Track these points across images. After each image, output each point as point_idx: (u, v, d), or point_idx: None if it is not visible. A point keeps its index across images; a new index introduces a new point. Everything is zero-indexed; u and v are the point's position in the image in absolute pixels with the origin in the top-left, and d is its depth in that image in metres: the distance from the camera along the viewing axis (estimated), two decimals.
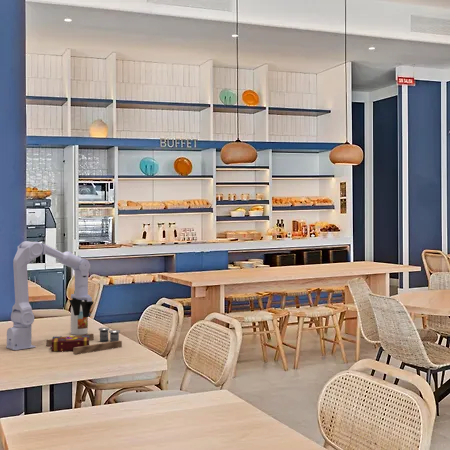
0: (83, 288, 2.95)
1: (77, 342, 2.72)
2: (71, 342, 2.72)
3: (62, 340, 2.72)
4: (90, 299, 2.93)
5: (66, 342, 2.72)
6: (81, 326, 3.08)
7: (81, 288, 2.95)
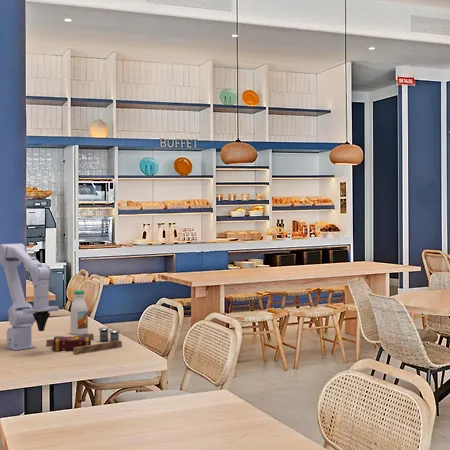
0: None
1: (79, 342, 2.73)
2: (73, 342, 2.73)
3: (64, 340, 2.73)
4: (24, 312, 2.63)
5: (68, 342, 2.72)
6: (81, 326, 3.08)
7: None
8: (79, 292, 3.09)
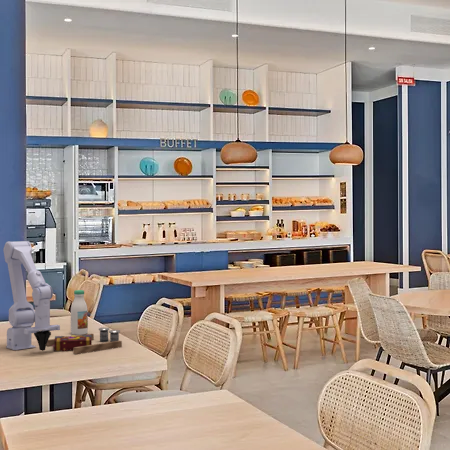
0: (35, 318, 2.67)
1: (80, 341, 2.73)
2: (74, 341, 2.73)
3: (65, 340, 2.73)
4: (25, 331, 2.64)
5: (69, 342, 2.73)
6: (81, 326, 3.08)
7: (35, 318, 2.68)
8: (79, 292, 3.09)
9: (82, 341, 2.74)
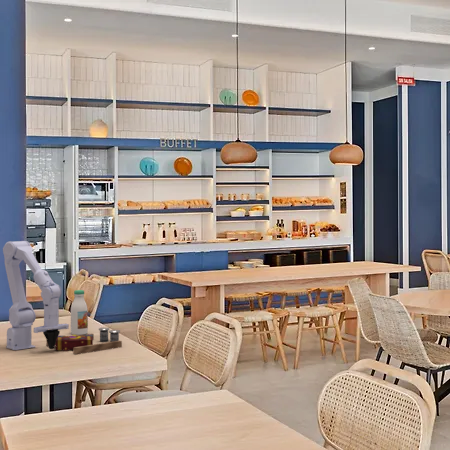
0: (44, 317, 2.70)
1: (81, 341, 2.74)
2: (75, 341, 2.74)
3: (66, 339, 2.74)
4: (35, 330, 2.66)
5: (70, 341, 2.73)
6: (81, 326, 3.08)
7: (44, 317, 2.71)
8: (79, 292, 3.09)
9: (83, 340, 2.74)
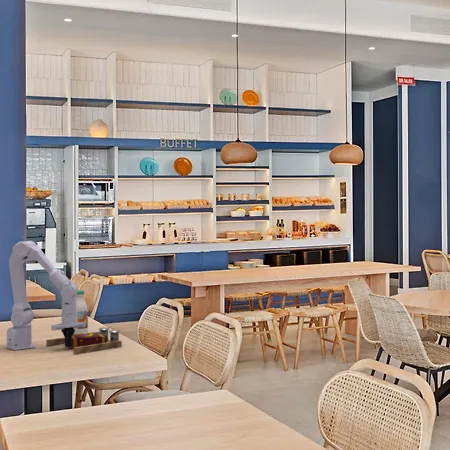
0: None
1: (96, 338, 2.80)
2: (90, 338, 2.79)
3: (81, 337, 2.79)
4: (52, 328, 2.72)
5: (85, 338, 2.78)
6: None
7: None
8: (79, 292, 3.09)
9: (98, 338, 2.80)
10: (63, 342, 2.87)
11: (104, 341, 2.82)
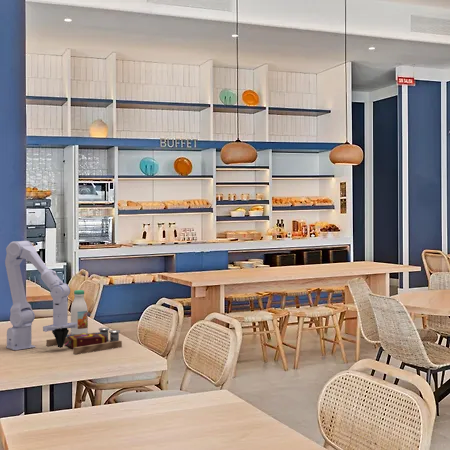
0: (53, 316, 2.73)
1: (96, 339, 2.80)
2: (90, 339, 2.79)
3: (81, 337, 2.79)
4: (44, 329, 2.69)
5: (85, 339, 2.78)
6: (81, 326, 3.08)
7: (53, 316, 2.73)
8: (79, 292, 3.09)
9: (98, 338, 2.80)
10: None
11: (104, 341, 2.81)
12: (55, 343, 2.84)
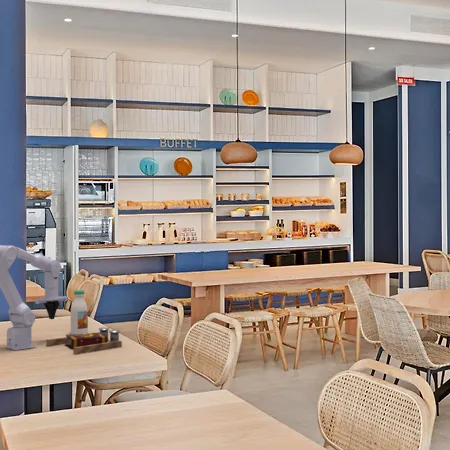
0: (45, 290, 2.90)
1: (96, 339, 2.80)
2: (90, 339, 2.79)
3: (81, 337, 2.79)
4: (36, 301, 2.86)
5: (85, 339, 2.78)
6: (81, 326, 3.08)
7: None
8: (79, 292, 3.09)
9: (98, 338, 2.80)
10: (63, 342, 2.87)
11: (104, 341, 2.82)
12: (55, 343, 2.84)
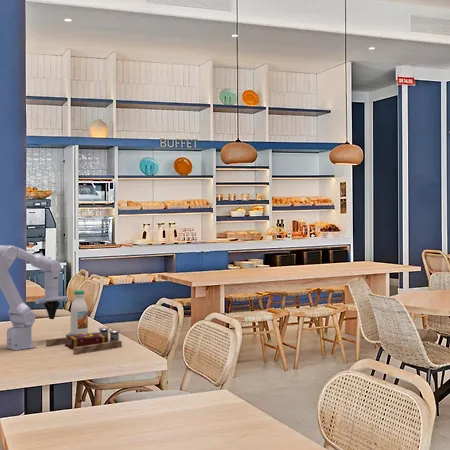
0: (45, 290, 2.90)
1: (96, 338, 2.80)
2: (90, 339, 2.79)
3: (81, 337, 2.79)
4: (36, 301, 2.86)
5: (85, 339, 2.78)
6: (81, 326, 3.08)
7: None
8: (79, 292, 3.09)
9: (98, 338, 2.80)
10: (63, 342, 2.87)
11: (104, 341, 2.82)
12: (55, 343, 2.84)
